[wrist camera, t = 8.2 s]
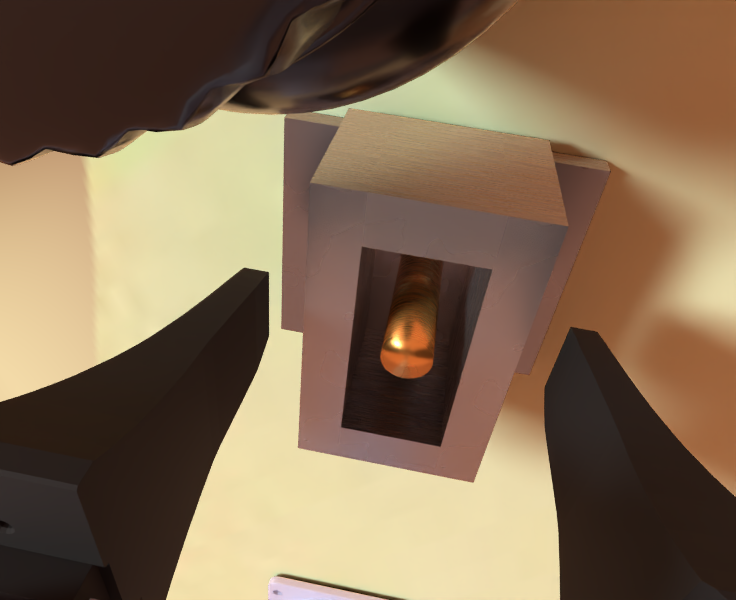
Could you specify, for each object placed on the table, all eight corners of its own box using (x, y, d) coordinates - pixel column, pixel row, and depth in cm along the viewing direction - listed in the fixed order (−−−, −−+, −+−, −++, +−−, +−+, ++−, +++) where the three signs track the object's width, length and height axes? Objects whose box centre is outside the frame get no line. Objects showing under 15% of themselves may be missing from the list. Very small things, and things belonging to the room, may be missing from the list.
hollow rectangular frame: (475, 376, 19) (473, 482, 15) (329, 349, 19) (298, 447, 16) (549, 140, 14) (568, 226, 10) (349, 107, 14) (309, 182, 11)
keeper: (528, 362, 19) (538, 483, 15) (286, 316, 19) (240, 424, 16) (606, 161, 14) (647, 264, 11) (291, 109, 15) (228, 192, 11)
